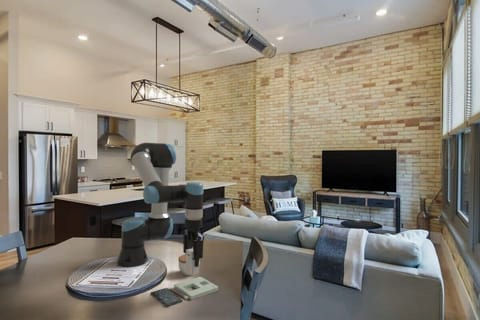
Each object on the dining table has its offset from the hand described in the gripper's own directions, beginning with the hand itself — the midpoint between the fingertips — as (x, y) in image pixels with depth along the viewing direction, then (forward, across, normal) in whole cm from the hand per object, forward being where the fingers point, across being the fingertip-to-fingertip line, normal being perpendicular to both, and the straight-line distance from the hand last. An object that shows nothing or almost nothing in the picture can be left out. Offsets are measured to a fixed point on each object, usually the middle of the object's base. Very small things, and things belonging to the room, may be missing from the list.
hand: (192, 271), depth 127 cm
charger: (0, 0, 0) cm, 0 cm away
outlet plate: (+8, 0, +3) cm, 9 cm away
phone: (+9, -1, -11) cm, 14 cm away
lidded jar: (+8, -17, +10) cm, 22 cm away
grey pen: (+8, -1, -6) cm, 10 cm away
